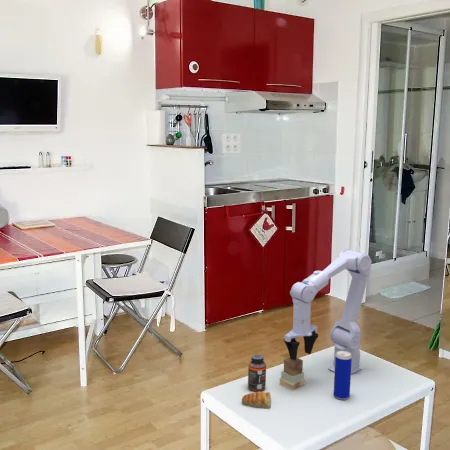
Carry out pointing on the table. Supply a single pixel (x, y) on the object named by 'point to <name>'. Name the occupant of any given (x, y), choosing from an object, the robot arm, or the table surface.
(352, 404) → the table surface
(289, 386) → the tower base
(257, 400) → the pastry
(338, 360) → the beverage can
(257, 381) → the supplement bottle
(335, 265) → the robot arm
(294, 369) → the walnut cube
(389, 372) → the table surface
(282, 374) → the tower top
